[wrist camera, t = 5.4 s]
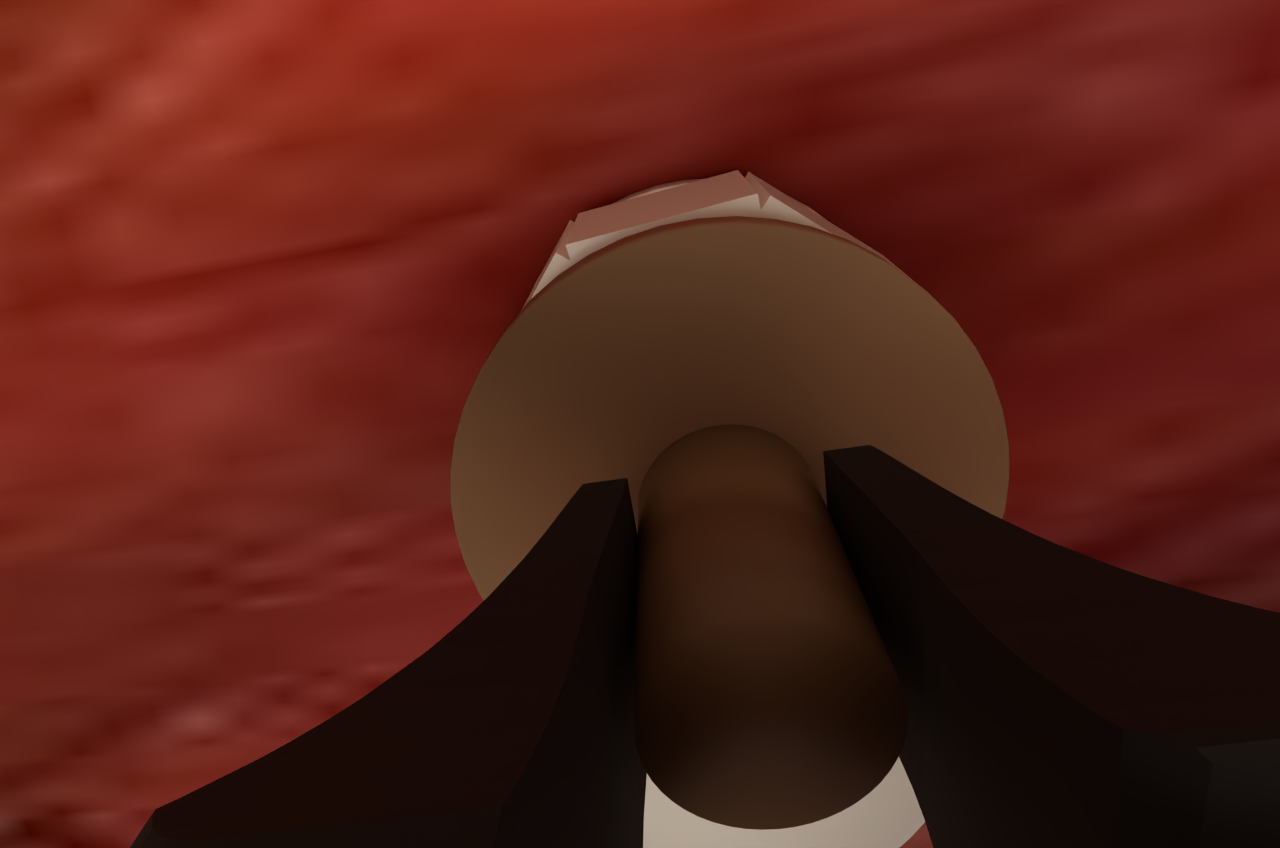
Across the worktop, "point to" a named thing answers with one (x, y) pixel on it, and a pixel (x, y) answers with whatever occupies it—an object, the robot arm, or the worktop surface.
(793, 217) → the bowl
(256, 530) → the worktop surface
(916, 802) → the coaster
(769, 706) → the lid
